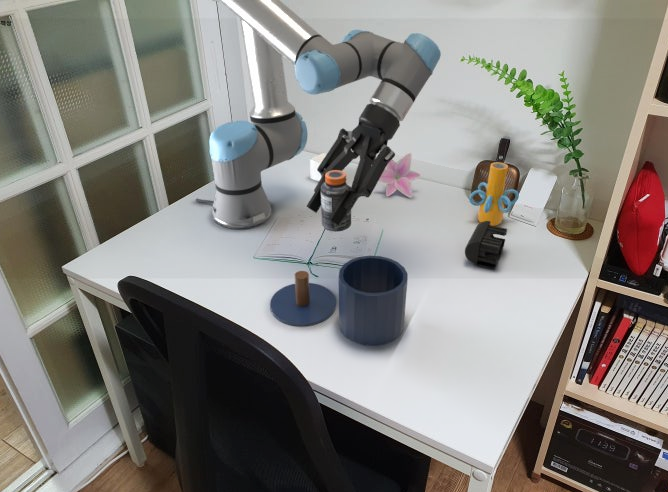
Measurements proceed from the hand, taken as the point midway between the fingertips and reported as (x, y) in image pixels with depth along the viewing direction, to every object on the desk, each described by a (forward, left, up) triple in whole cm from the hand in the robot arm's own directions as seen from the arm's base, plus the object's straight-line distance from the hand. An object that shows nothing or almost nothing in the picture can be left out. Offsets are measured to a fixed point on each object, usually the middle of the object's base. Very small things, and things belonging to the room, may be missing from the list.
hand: (322, 215), depth 109 cm
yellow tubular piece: (+26, +43, -19) cm, 54 cm away
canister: (+13, -7, -18) cm, 24 cm away
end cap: (+28, +26, -19) cm, 43 cm away
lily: (-1, +49, -19) cm, 53 cm away
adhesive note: (-23, +49, -19) cm, 58 cm away
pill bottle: (+2, +3, -4) cm, 5 cm away
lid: (-2, -7, -18) cm, 19 cm away
